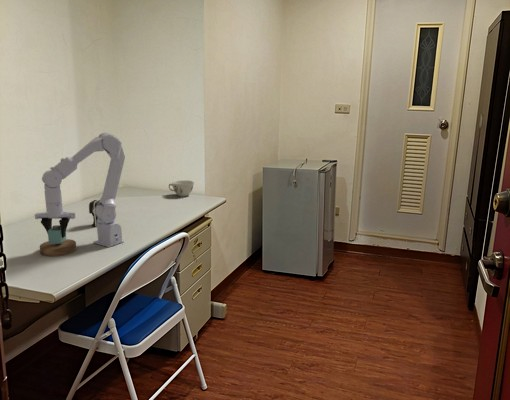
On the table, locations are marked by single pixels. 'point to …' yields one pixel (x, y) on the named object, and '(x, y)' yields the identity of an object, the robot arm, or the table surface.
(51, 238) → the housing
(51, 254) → the stand
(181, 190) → the teacup
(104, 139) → the robot arm
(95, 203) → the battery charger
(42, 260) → the table surface
